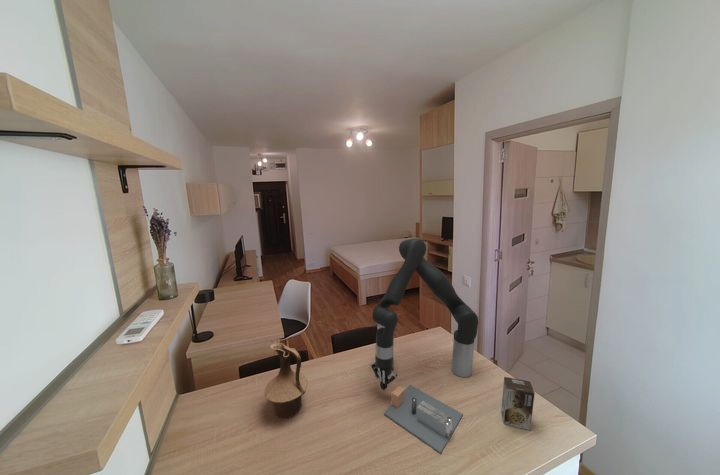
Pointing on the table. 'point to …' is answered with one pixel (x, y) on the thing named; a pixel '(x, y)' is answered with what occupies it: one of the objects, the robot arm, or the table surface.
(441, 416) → the bar
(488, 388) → the table surface
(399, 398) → the block
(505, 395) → the coffee box
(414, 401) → the post
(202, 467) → the table surface
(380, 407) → the table surface
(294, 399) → the pitcher
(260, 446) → the table surface
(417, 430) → the slate board
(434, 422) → the jaw
